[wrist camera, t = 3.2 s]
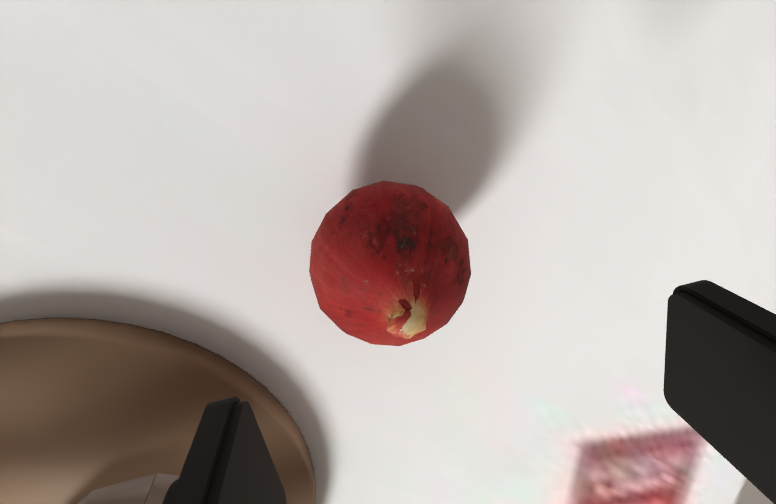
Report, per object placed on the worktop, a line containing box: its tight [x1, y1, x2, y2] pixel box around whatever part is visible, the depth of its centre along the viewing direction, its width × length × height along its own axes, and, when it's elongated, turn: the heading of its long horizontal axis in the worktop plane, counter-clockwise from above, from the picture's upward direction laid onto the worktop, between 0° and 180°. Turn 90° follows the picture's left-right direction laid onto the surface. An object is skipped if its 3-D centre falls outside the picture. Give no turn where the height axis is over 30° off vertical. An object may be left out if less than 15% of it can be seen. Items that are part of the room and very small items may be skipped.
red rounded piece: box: [309, 181, 471, 346], centre depth 16 cm, size 6×6×8 cm
